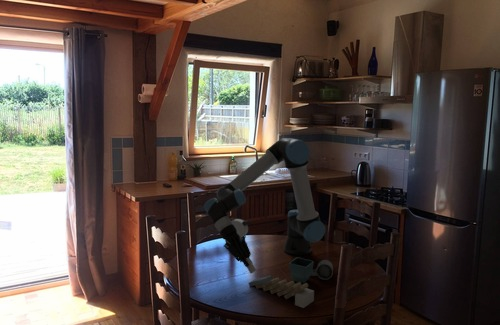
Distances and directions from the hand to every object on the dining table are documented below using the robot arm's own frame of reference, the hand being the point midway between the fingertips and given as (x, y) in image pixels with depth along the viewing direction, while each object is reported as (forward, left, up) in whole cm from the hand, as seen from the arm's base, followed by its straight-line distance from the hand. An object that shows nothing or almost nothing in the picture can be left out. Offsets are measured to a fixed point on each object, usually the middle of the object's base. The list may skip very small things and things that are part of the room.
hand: (253, 271), depth 182 cm
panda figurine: (-11, -53, -6) cm, 54 cm away
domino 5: (-8, +13, -5) cm, 16 cm away
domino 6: (-9, +16, -5) cm, 20 cm away
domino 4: (-6, +10, -5) cm, 13 cm away
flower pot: (-22, +3, -6) cm, 23 cm away
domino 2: (-2, +3, -5) cm, 6 cm away
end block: (-13, +23, -6) cm, 27 cm away
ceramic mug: (-34, +2, -6) cm, 34 cm away
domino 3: (-4, +6, -5) cm, 9 cm away
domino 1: (0, 0, -5) cm, 5 cm away
